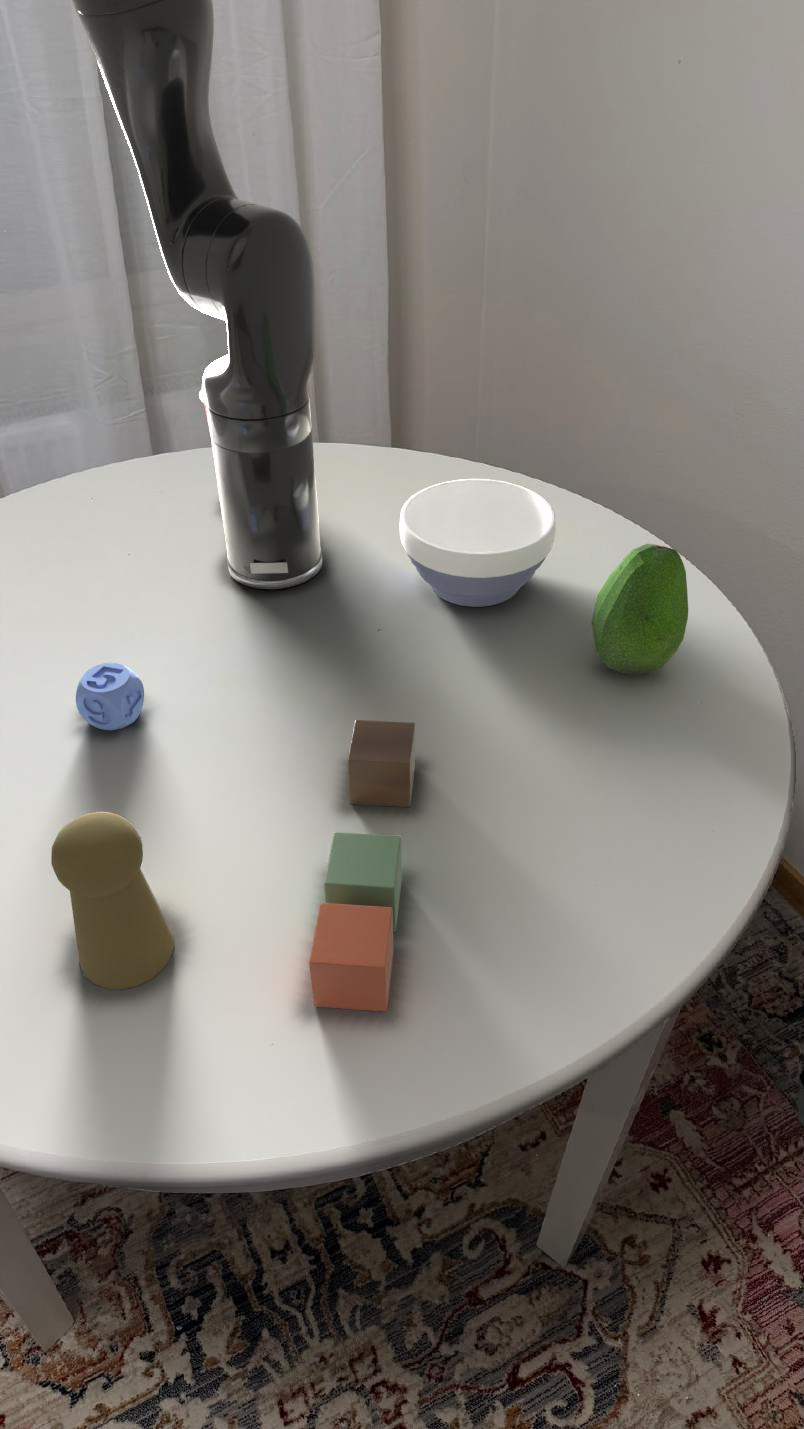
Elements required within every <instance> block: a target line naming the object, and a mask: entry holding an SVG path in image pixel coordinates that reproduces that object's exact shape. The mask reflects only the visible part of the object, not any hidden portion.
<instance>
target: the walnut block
mask: <svg viewBox="0 0 804 1429" xmlns="http://www.w3.org/2000/svg"><path fill="white" fill-rule="evenodd" d="M415 770H416V722H410V721H408V722H407V721H387V720H371V719H370V720H369V719H368V720H367V719H355V720H354V724H353V730H352V736H351V741H350V746H349V750H348V755H347V771H348V772H347V773H348V788H349V803H350V805H360V806H361V805H363V806H381V807H398V808H399V807H400V808H411V806H412V795H413V788H414V779H415V778H414V777H415Z"/></svg>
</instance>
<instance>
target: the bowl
mask: <svg viewBox="0 0 804 1429" xmlns="http://www.w3.org/2000/svg"><path fill="white" fill-rule="evenodd" d="M399 516H400V517H399V526H398V528H399V536H400V541H401V545H402V548H403V549H404V552H405V553H406V555H407V557H408V559H409V560H410V562H411V564H412V565H413V566H414V567H415V568H416V569H415V570H416V571H417V573H418V574H419V576H420V577H421V578H422V580H424V581H425V582H426V583H428V585H429V586H430V588H431V590H432V591H433V592H434V594H436V595H437V596H438V597H439V598H441V599H443V600H444V601H446V602H449V603H451V604H454V605H458V606H463V607H469V608H471V607H473V608H481V607H489V606H495V605H498V604H502V603H504V602H506V601H508V600H510V599H511V598H513V597H514V596H515V595H516V594H517V592H518V591H519V590H520V589H521V587H522V586H524V585H525V584H527V582H528V581H530V580H531V579H532V577H533V576H534V575H535V573H536V571H537V570H538V569H539V568H540V567H541V566H542V564H543V563H544V562H545V560H546V558H547V557H548V555H549V554H550V552H551V551H552V549H553V544H554V541H555V536H556V530H557V529H556V526H557V525H556V513H555V511H554V509H553V507H552V505H551V504H550V503H549V502H548V501H547V500H546V499H545V498H544V497H542V496H541V495H540V494H538V493H537V492H535V491H533V490H532V489H529V488H527V487H525V486H521V485H519V484H516V483H512V482H508V481H503V480H497V479H489V478H463V479H454V480H448V481H442V482H439V483H435V484H432V485H430V486H427V487H425V488H422V489H420V490H419V491H417V492H416V493H414V494H412V495H411V496H410V497H409V498H408V500H406V501H405V503H404V504H403V506H402V508H401V509H400V515H399Z"/></svg>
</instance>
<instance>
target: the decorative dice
mask: <svg viewBox="0 0 804 1429" xmlns="http://www.w3.org/2000/svg"><path fill="white" fill-rule="evenodd" d="M144 700H145V688H144V684H143V681H142V679H141V678H140V677H139V676H138V674H137V673H136V672H135V671H134V670H132V669H131V668H129V667H128V666H126V665H123V664H121V663H116V662H106V663H101V664H97V665H94V666H92V667H90V668H89V669H88V670H86V671H85V672H84V673H83V675H81V677H80V679H79V682H78V683H77V687H76V691H75V705H76V709H77V711H78V713H79V714H80V716H81V717H82V719H84V721H85V722H86V723H88V724H89V725H91V726H93V727H94V728H97V729H99V730H103V731H116V730H121V729H124V728H126V727H128V726H130V725H131V724H133V723H134V722H135V721H136V720H137V719H138V718H139V716H140V714H141V712H142V709H143V706H144Z"/></svg>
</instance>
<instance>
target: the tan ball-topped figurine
mask: <svg viewBox="0 0 804 1429" xmlns="http://www.w3.org/2000/svg"><path fill="white" fill-rule="evenodd" d="M143 845H144V844H143V840H142V837H141V835H140V833H139V832H138V830H137V828H136V827H135V826H134V824H133V823H132V822H130V820H128V819H126V818H125V817H123V816H122V815H120V814H116V813H113V812H110V811H96V812H95V811H94V812H90V813H89V812H88V813H85V814H83V815H80V816H78V817H75V818H74V819H72V820H71V821H70V822H68V823H66V824H65V825H64V826H63V827H62V828H61V829H60V830H59V832H58V833H57V835H56V837H55V839H54V841H53V843H52V846H51V858H50V859H51V862H50V864H51V867H52V869H53V872H54V874H55V876H56V879H57V880H58V881H59V883H60V884H61V885H62V887H65V889H67V890H68V891H69V897H70V902H71V903H70V904H71V909H72V910H71V911H72V918H73V924H74V931H75V938H76V939H75V940H76V947H77V954H78V961H79V962H78V963H79V966H80V969H81V971H82V973H83V975H84V977H85V978H86V979H88V980H89V981H90V982H91V983H92V984H93V985H96V986H98V987H101V988H103V989H106V990H107V989H108V990H125V989H130V988H135V987H138V986H140V985H142V984H144V983H146V982H149V981H151V980H152V979H153V978H155V977H156V976H157V975H158V974H160V973H161V972H162V971H163V970H164V969H165V967H166V966H167V964H168V963H169V961H170V960H171V958H172V955H173V951H174V948H175V940H174V939H175V938H174V934H173V931H172V929H171V927H170V925H169V923H168V921H167V919H166V917H165V915H164V913H163V911H162V909H161V907H160V904H159V903H158V901H157V899H156V897H155V894H154V892H153V891H152V888H151V887H150V885H149V883H148V881H147V879H146V877H145V875H144V872H143V871H142V869H141V866H142V863H143V861H144V860H143V859H144V846H143Z"/></svg>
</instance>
